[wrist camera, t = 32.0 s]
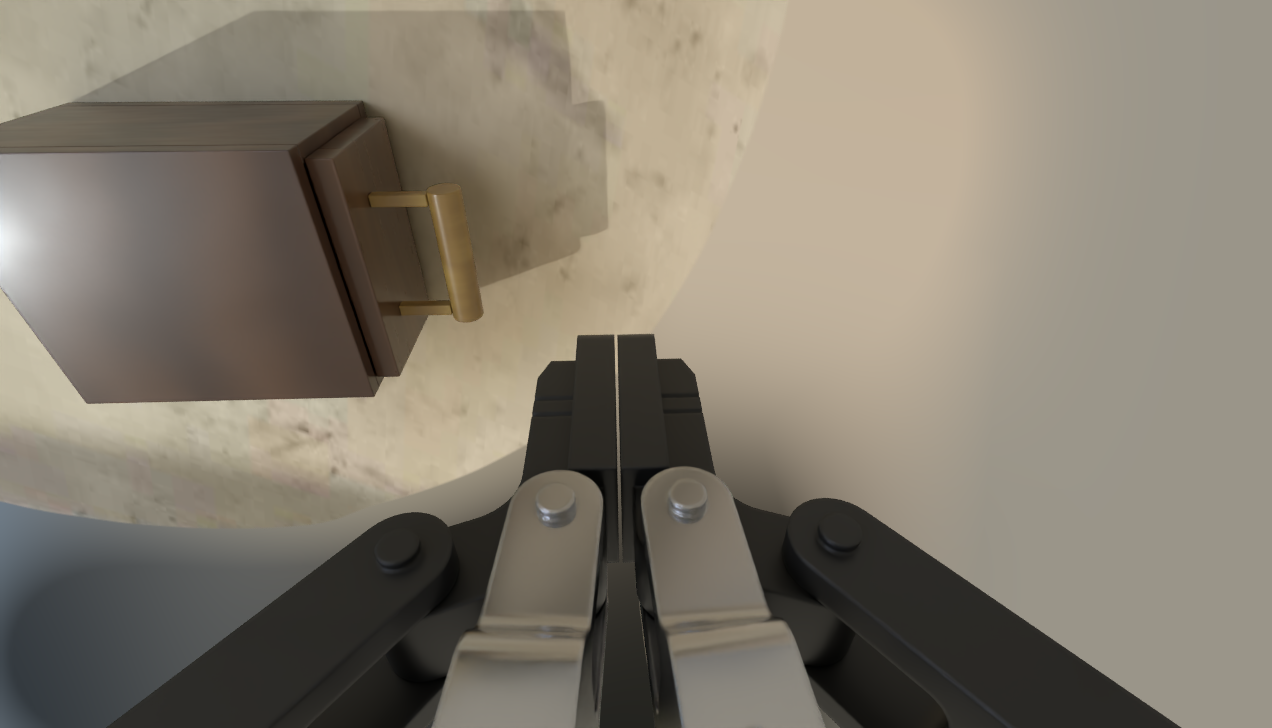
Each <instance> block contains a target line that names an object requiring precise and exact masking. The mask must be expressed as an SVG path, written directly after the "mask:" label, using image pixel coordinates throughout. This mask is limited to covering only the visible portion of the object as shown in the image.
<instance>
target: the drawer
mask: <svg viewBox="0 0 1272 728" xmlns="http://www.w3.org/2000/svg"><path fill="white" fill-rule="evenodd" d="M303 165H304V168H305V171H306V174H307V177H308V180H309V183H310V186H311V189H312V192H313V195H314V198H315V201H316V204H317V207H318V210H319V213H320V215H321V218H322V221H323V224H324V227H325V230H326V233H327V236H328V239H329V242H330V245H331V248H332V251H333V254H334V257H335V260H336V263H337V266H338V269H339V271H340V274H341V277H342V280H343V283H344V286H345V289H346V292H347V295H348V298H349V301H350V304H351V307H352V310H353V313H354V316H355V319H356V322H357V325H358V327H359V330H360V333H361V336H362V339H363V341H364V340H365V341H366V344H367V347H368V350H369V353H370V356H371V359H372V362H373V365H374V368H375V371H376V374H377V376H378V377H397V376H400V374H401V372H402V370H403V368H404V366H405V364H406V362H407V360H408V358H409V355H410V353H411V351H412V349H413V347H414V345H415V343H416V341H417V338H418V336H419V334H420V332H421V330H422V328H423V326H424V324H425V321H426V319H427V317H428V315H452V313H453V316H454V318H455V320H457V321H459V322H472V321H476V320H478V319H480V318H481V317H482V316H483V313H484V311H483V306H482V300H481V295H480V289H479V284H478V278H477V273H476V267H475V262H474V256H473V251H472V245H471V240H470V234H469V229H468V223H467V218H466V212H465V206H464V201H463V195H462V190H461V187H460V186H459V185H457V184H452V183H442V184H436V185H433V186H431V187H429V188H427V190H426V191H402V190H401V186H400V182H399V178H398V174H397V170H396V166H395V161H394V157H393V153H392V149H391V145H390V141H389V137H388V133H387V129H386V125H385V121H384V118H382V117H367V118H360V119H358V120H357V121H356V122H354V123H353V124H351V125H350V126H349V127H347V128H346V129H345V130H343V131H342V132H341V133H339V134H338V135H336V136H335V137H334V138H332V139H331V140H330V141H328V142H327V143H326V144H324V145H323V146H321V147H320V148H319V149H317V150H316V151H315V152H313V153H312V154H311V155H309V156H308V157H307V158H305V163H304V164H303ZM428 206H429V207H430V212H431V216H432V221H433V225H434V230H435V234H436V239H437V244H438V248H439V253H440V257H441V262H442V266H443V271H444V275H445V280H446V285H447V289H448V294H449V298H450V300H437V301H429V300H428V296H427V292H426V288H425V284H424V280H423V276H422V272H421V268H420V264H419V260H418V255H417V251H416V247H415V243H414V239H413V235H412V231H411V227H410V223H409V219H408V215H407V210H406V207H428Z"/></svg>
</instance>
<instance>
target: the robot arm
mask: <svg viewBox="0 0 1272 728" xmlns="http://www.w3.org/2000/svg"><path fill="white" fill-rule="evenodd" d="M618 381H619V428H620V467H621V506H622V545H623V562H635V580H636V592H637V596H638V599H639V601H640V613H641V620H642V628H643V636H644V644H645V651H646V659H647V666H648V674H649V682H650V690H651V697H652V705H653V712H654V721H655V728H826V727H825V725H824V721H823V719H822V716H821V713H820V710H819V707H820V708H821V709H822V710H823V711H824V712H825V713H826V714H827V715H828V716H829V717H830V718H831V719H832V720H833V721H834V722H835V723H837V725H838V726H840V728H1181V727H1179V726H1178V725H1177V724H1175V723H1174V722H1172V721H1171V720H1169V719H1168V718H1166V717H1165V716H1163V715H1162V714H1161V713H1159V712H1158V711H1156V710H1155V709H1153V708H1152V707H1150V706H1149V705H1147V704H1146V703H1145V702H1143V701H1141V700H1140V699H1139V698H1137V697H1136V696H1134V695H1133V694H1131V693H1130V692H1128V691H1127V690H1125V689H1124V688H1123V687H1121V686H1120V685H1118V684H1117V683H1115V682H1114V681H1112V680H1111V679H1110V678H1108V677H1107V676H1105V675H1104V674H1102V673H1101V672H1099V671H1098V670H1096V669H1095V668H1093V667H1092V666H1090V665H1089V664H1087V663H1086V662H1085V661H1083V660H1082V659H1080V658H1079V657H1077V656H1076V655H1075V654H1073V653H1072V652H1070V651H1069V650H1067V649H1066V648H1064V647H1063V646H1061V645H1060V644H1058V643H1057V642H1055V641H1054V640H1053V639H1051V638H1050V637H1048V636H1047V635H1045V634H1044V633H1042V632H1041V631H1040V630H1038V629H1036V628H1035V627H1034V626H1032V625H1030V624H1029V623H1028V622H1026V621H1025V620H1023V619H1022V618H1020V617H1019V616H1018V615H1016V614H1015V613H1013V612H1012V611H1010V610H1009V609H1007V608H1006V607H1005V606H1003V605H1002V604H1000V603H998V602H997V601H996V600H994V599H993V598H991V597H990V596H988V595H987V594H986V593H984V592H983V591H981V590H980V589H978V588H977V587H975V586H974V585H972V584H971V583H970V582H968V581H967V580H965V579H964V578H962V577H961V576H959V575H958V574H956V573H955V572H953V571H952V570H950V569H949V568H948V567H946V566H945V565H943V564H942V563H940V562H939V561H937V560H936V559H934V558H933V557H932V556H930V555H929V554H927V553H926V552H924V551H923V550H921V549H920V548H918V547H917V546H915V545H914V544H913V543H911V542H910V541H908V540H907V539H905V538H904V537H902V536H901V535H900V534H898V533H897V532H895V531H894V530H892V529H891V528H889V527H888V526H886V525H885V524H883V523H882V522H880V521H879V520H878V519H876V518H875V517H873V516H872V515H870V514H869V513H867V512H866V511H864V510H862V509H861V508H859V507H858V506H856V505H853V504H851V503H848V502H845V501H842V500H838V499H831V498H821V499H813V500H809V501H807V502H805V503H803V504H801V505H800V506H798V507H797V508H796V509H795V510H794V511H793V513H792V514H791V516H790V517H789V516H785V515H781V514H776V513H772V512H768V511H764V510H760V509H756V508H753V507H750V506H748V505H746V504H744V503H742V502H740V501H738V500H737V499H735V498H734V497H733V496H732V494H731V492H730V490H729V488H728V487H727V485H726V484H725V483H724V482H723V481H722V480H721V479H719V478H718V477H717V476H716V474H715V471H714V466H713V461H712V456H711V452H710V447H709V442H708V437H707V432H706V427H705V422H704V417H703V413H702V407H701V402H700V397H699V392H698V387H697V382H696V377H695V374H694V373H693V372H692V371H691V369H690V368H689V367H688V366H687V365H686V364H685V363H684V361H683V360H682V359H657V355H656V346H655V338H654V334H629V335H618ZM532 414H533V417H532V419H531V425H530V432H529V438H528V444H527V451H526V458H525V464H524V470H523V476H522V480H521V483H520V485H519V487H518V489H517V490H516V492H515V493H514V495H513V496H512V497H511V498H510V499H509V500H508V501H507V502H506V503H505V504H504V505H502V506H501V507H499V508H498V509H496V510H495V511H493V512H491V513H489V514H487V515H485V516H482V517H479V518H476V519H473V520H470V521H466V522H463V523H460V524H456V525H453V526H450V527H447V525H446V524H445V523H444V522H443V521H442V520H441V519H439V518H437V517H436V516H433V515H430V514H426V513H419V512H411V513H404V514H400V515H396V516H393V517H390V518H387V519H385V520H383V521H381V522H379V523H377V524H376V525H374V526H373V527H371V528H370V529H368V530H367V531H366V532H365V533H363V534H362V535H361V536H359V537H358V538H357V539H355V540H354V541H353V542H352V543H350V544H349V545H347V546H346V547H345V548H343V549H342V550H341V551H339V552H338V553H337V554H335V555H334V556H333V557H331V558H330V559H329V560H327V561H326V562H325V563H324V564H322V565H321V566H320V567H318V568H317V569H316V570H314V571H313V572H312V573H310V574H309V575H308V576H306V577H305V578H304V579H302V580H301V581H300V582H298V583H297V584H296V585H294V586H293V587H292V588H290V589H289V590H288V591H286V592H285V593H284V594H282V595H281V596H280V597H279V598H277V599H276V600H275V601H273V602H272V603H271V604H269V605H268V606H267V607H265V608H264V609H263V610H261V611H260V612H259V613H258V614H256V615H255V616H253V617H252V618H251V619H249V620H248V621H247V622H245V623H244V624H243V625H241V626H240V627H239V628H237V629H236V630H235V631H234V632H232V633H231V634H230V635H228V636H227V637H226V638H224V639H223V640H222V641H220V642H219V643H218V644H216V645H215V646H214V647H212V648H211V649H210V650H208V651H207V652H206V653H205V654H203V655H202V656H200V657H199V658H198V659H196V660H195V661H194V662H192V663H191V664H190V665H189V666H187V667H186V668H185V669H183V670H182V671H181V672H179V673H178V674H177V675H176V676H174V677H173V678H172V679H170V680H169V681H167V682H166V683H165V684H163V685H162V686H161V687H159V688H158V689H157V690H155V691H154V692H153V693H151V694H150V695H149V696H148V697H146V698H145V699H144V700H142V701H141V702H140V703H138V704H137V705H136V706H134V707H133V708H132V709H130V710H129V711H128V712H126V713H125V714H124V715H122V716H121V717H120V718H118V719H117V720H116V721H114V722H113V723H112V724H111V725H110V726H108V727H107V728H426V727H427V726H428V725H429V724H430V723H431V722H432V720H434V722H433V725H432V728H599V719H600V718H599V717H600V706H601V705H600V704H601V693H602V680H603V666H604V654H605V641H606V627H607V615H608V595H607V563H611V562H613V563H615V562H619V538H618V537H619V535H618V484H617V437H616V436H617V435H616V434H617V432H616V388H615V346H614V335H578V337H577V349H576V361H551V362H550V364H549V365H548V366H547V367H546V369H545V370H544V371H543V372H542V374H541V375H540V376H539V377H538V381H537V387H536V393H535V401H534V406H533V412H532ZM818 706H819V707H818Z"/></svg>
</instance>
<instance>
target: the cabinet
mask: <svg viewBox="0 0 1272 728" xmlns="http://www.w3.org/2000/svg"><path fill="white" fill-rule="evenodd" d="M360 118H367V116H366V113H365V109H364V105H363V102H362V101H237V102H92V103H66V104H63V105H60V106H56V107H53V108H49V109H46V110H43V111H40V112H36V113H33V114H30V115H27V116H23V117H20V118H17V119H14V120H10V121H7V122H4V123H1V124H0V288H1V289H2V290H3V292H4V293H5V294H6V296H7V297H8V298H9V300H10V301H11V302H12V304H13V305H14V307H15V308H16V309H17V311H18V312H19V313H20V315H21V316H22V317H23V319H24V320H25V321H26V323H27V324H28V325H29V327H30V328H31V329H32V331H33V332H34V333H35V335H36V336H37V337H38V339H39V340H40V341H41V343H42V344H43V346H44V347H45V348H46V350H47V351H48V352H49V354H50V355H51V356H52V358H53V359H54V360H55V362H56V363H57V364H58V366H59V367H60V368H61V370H62V371H63V372H64V374H65V375H66V376H67V378H68V379H69V380H70V382H71V383H72V385H73V386H74V387H75V389H76V390H77V391H78V393H79V394H80V395H81V397H82V398H83V399H84V401H85V402H86V403H87V404H95V403H137V402H178V401H220V400H261V399H303V398H345V397H374V396H375V394H376V392H377V390H378V388H379V386H380V384H381V382H382V380H383V378H384V377H378V376H377V374H376V371H375V368H374V365H373V362H372V359H371V356H370V353H369V350H368V347H367V344H366V341H365V340H364V341H363V339H362V336H361V333H360V330H359V327H358V325H357V322H356V319H355V316H354V313H353V310H352V307H351V304H350V301H349V298H348V295H347V292H346V289H345V286H344V283H343V280H342V277H341V274H340V271H339V269H338V266H337V263H336V260H335V257H334V254H333V251H332V248H331V245H330V242H329V239H328V236H327V233H326V230H325V227H324V224H323V221H322V218H321V215H320V213H319V210H318V207H317V204H316V201H315V198H314V195H313V192H312V189H311V186H310V183H309V180H308V177H307V174H306V171H305V168H304V165H303V164H304V163H305V158H307V157H308V156H309V155H311V154H312V153H313V152H315V151H316V150H317V149H319V148H320V147H321V146H323V145H324V144H326V143H327V142H328V141H330V140H331V139H332V138H334V137H335V136H336V135H338V134H339V133H341V132H342V131H343V130H345V129H346V128H347V127H349V126H350V125H351V124H353V123H354V122H356V121H357V120H358V119H360Z"/></svg>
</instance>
